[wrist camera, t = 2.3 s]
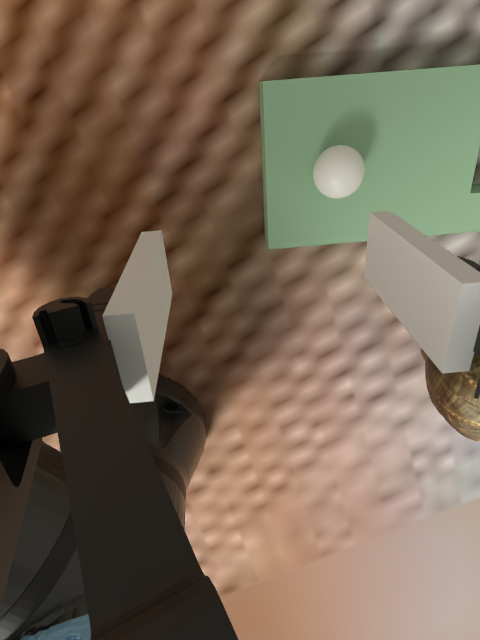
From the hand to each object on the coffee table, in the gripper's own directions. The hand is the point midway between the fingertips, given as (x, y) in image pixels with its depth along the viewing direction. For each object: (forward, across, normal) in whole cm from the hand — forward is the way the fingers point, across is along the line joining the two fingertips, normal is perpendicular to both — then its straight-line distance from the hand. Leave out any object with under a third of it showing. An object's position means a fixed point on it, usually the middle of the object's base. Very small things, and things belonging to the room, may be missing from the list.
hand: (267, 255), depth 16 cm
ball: (+15, +7, 0) cm, 17 cm away
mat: (+19, +15, 0) cm, 24 cm away
